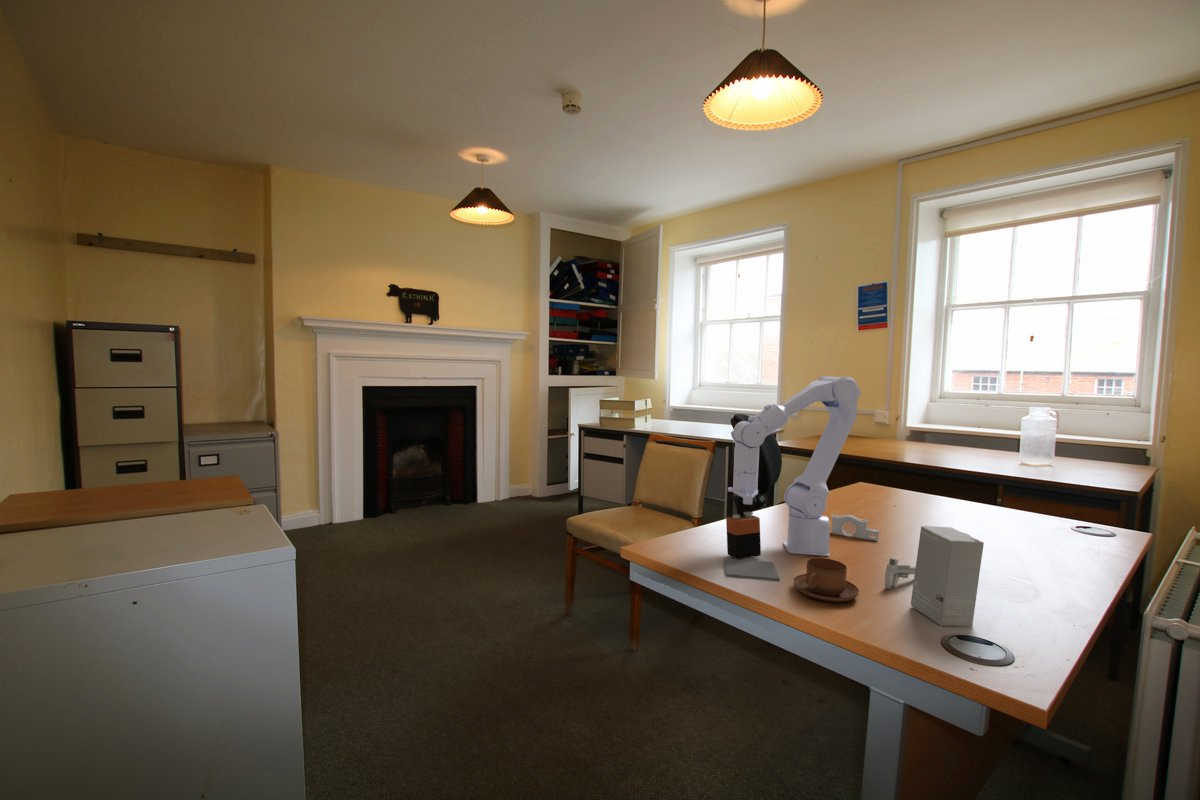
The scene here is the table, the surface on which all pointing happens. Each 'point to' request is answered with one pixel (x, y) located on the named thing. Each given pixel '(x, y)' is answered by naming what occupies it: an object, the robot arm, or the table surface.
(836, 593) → the cup and saucer
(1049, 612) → the table surface
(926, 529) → the skincare box
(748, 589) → the table surface
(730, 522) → the battery
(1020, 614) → the table surface
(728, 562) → the mat
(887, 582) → the caliper
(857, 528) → the garden wall model
